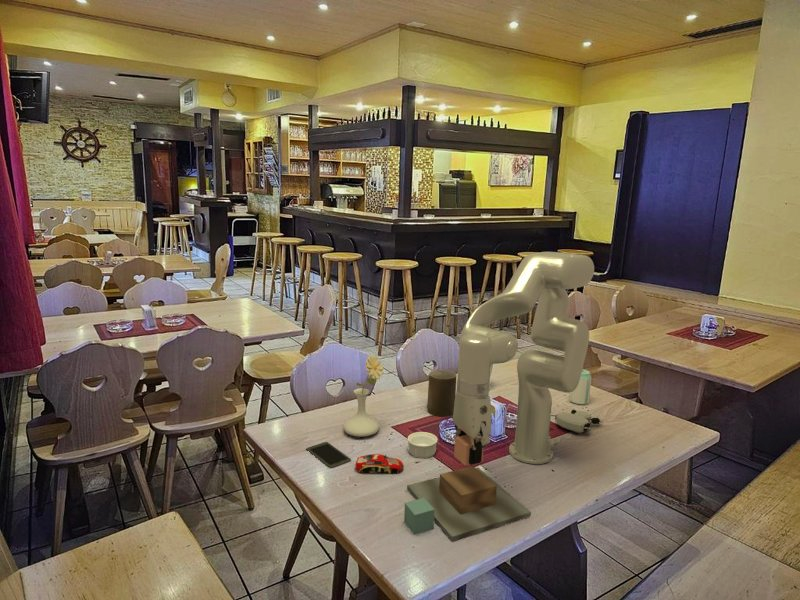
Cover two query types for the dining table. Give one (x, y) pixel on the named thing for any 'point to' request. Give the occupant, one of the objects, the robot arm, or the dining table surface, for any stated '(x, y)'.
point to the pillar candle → (441, 392)
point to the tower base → (471, 518)
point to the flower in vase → (362, 421)
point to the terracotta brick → (464, 448)
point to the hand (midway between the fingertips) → (468, 456)
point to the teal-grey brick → (419, 516)
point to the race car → (378, 464)
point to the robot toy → (576, 420)
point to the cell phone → (328, 455)
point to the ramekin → (422, 444)
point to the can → (582, 389)
